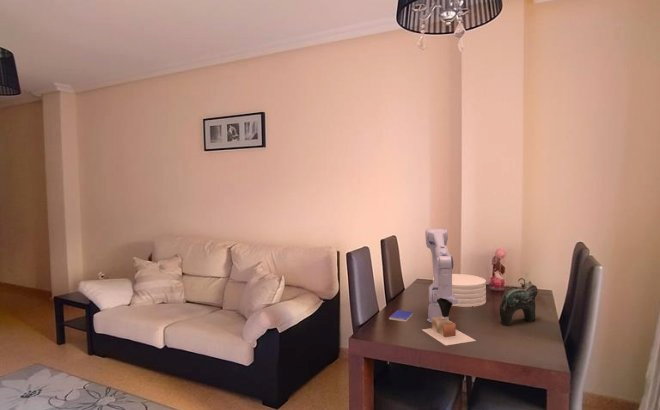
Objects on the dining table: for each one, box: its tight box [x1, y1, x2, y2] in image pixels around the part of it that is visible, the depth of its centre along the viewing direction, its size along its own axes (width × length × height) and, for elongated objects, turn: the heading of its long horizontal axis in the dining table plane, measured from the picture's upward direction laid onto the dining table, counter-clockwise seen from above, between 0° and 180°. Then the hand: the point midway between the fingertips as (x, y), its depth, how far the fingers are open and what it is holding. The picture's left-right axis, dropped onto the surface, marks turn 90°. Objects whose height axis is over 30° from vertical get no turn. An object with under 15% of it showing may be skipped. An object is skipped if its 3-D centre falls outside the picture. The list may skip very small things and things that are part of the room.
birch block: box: [431, 316, 457, 337], centre depth 159 cm, size 5×5×10 cm
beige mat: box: [422, 327, 477, 346], centre depth 157 cm, size 18×14×1 cm
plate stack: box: [432, 273, 487, 308], centre depth 210 cm, size 28×28×12 cm
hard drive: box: [388, 309, 414, 322], centre depth 183 cm, size 2×8×12 cm
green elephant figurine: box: [499, 277, 538, 327], centre depth 171 cm, size 20×6×20 cm, turn 111°
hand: (445, 316), depth 158 cm, fingers closed
